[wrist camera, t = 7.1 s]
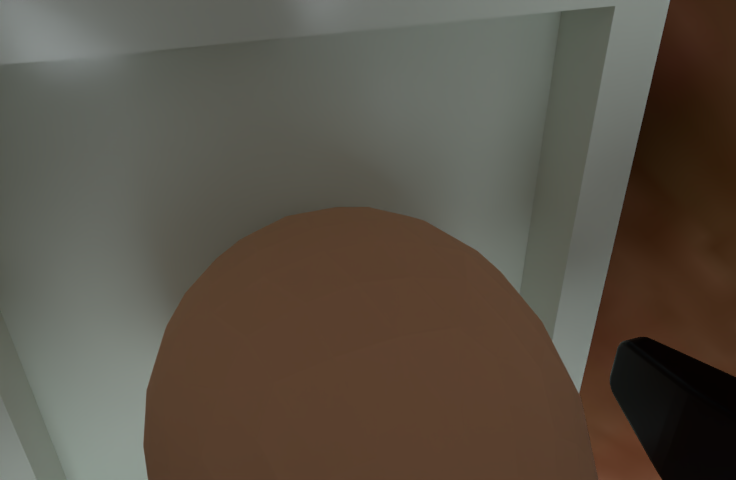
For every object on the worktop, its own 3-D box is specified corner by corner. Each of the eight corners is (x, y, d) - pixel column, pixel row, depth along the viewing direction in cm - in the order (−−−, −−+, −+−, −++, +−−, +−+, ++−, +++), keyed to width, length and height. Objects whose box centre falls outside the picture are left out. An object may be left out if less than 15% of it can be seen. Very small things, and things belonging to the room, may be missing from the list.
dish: (605, -85, 11) (686, -70, 10) (522, 405, 18) (562, 463, 16) (-214, -41, 8) (-290, -7, 7) (45, 533, 15) (37, 620, 13)
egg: (425, 90, 11) (820, 432, 5) (460, 337, 15) (720, 724, 9) (76, 200, 10) (23, 789, 4) (200, 436, 14) (275, 954, 8)
